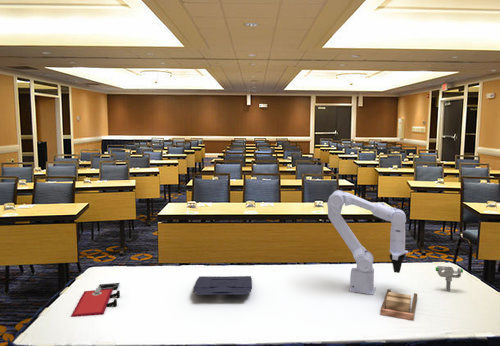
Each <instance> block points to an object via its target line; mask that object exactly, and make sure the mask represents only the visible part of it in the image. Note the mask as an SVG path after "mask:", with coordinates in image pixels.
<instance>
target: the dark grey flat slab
mask: <svg viewBox="0 0 500 346" xmlns="http://www.w3.org/2000/svg"><path fill="white" fill-rule="evenodd" d="M252 279H253V277H252V276H251V275H244V276H243V275H242V276H241V275H239V276H235V275H234V276H230V275H229V276H228V275H227V276H207V275H206V276H201V275H200V276H198V278H197V279H196V281H195V284H194V286H193V288H192V290H193V292H192V293H195V294H194V295H197V296H198V295H199V296H200V295H202V296H203V295H205V296H206V295H248V294H249V293H250V292H252V290H253V280H252Z"/></svg>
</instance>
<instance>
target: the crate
mask: <svg viewBox="0 0 500 346" xmlns="http://www.w3.org/2000/svg"><path fill="white" fill-rule="evenodd" d="M411 307H412V295H411V294H406V293H405V294H403V293H400V292H398V293H397V292H392V291H391V292H389V293H388V295H387V299H386V309H389V310H395V311H401V312H406V313H410V312H411Z"/></svg>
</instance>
